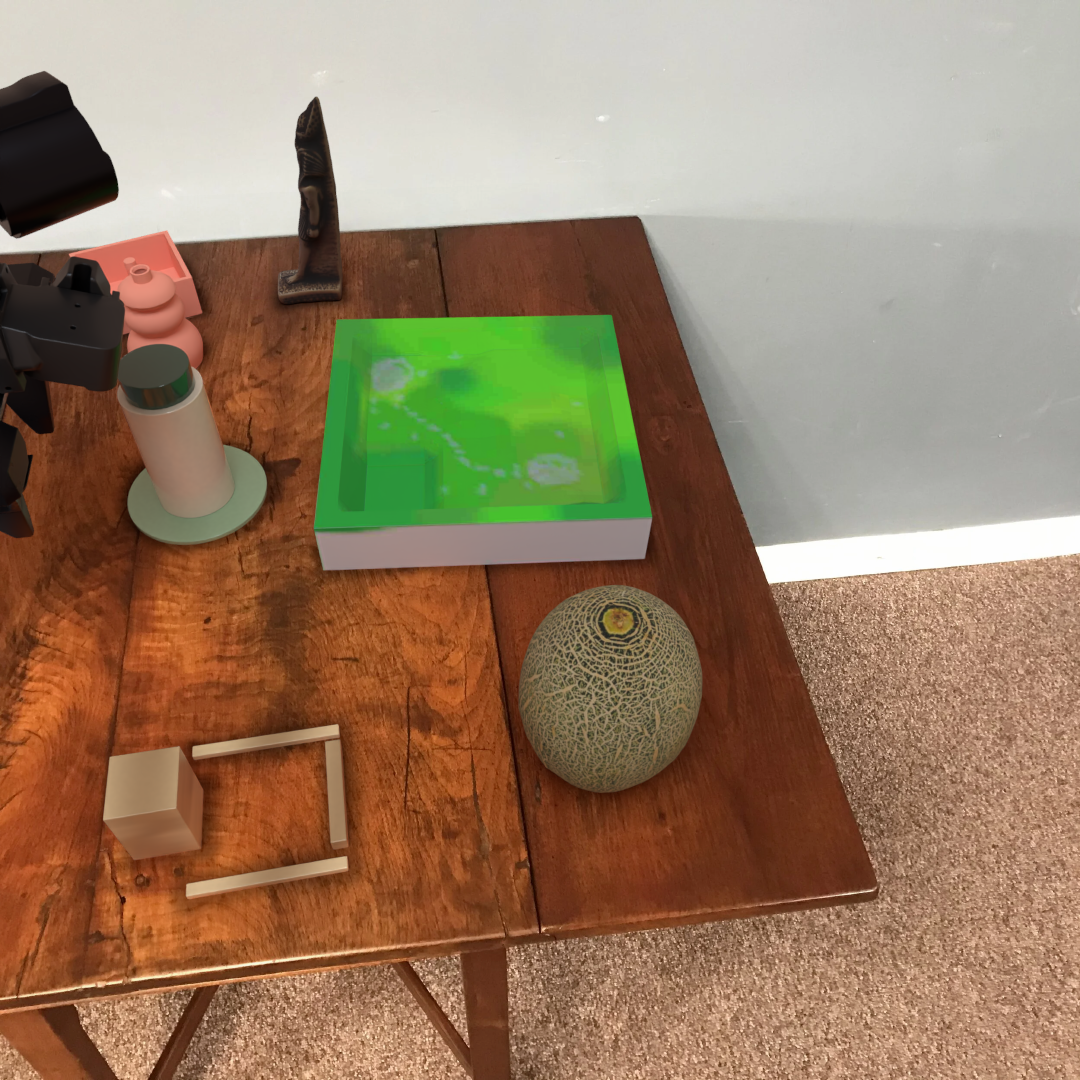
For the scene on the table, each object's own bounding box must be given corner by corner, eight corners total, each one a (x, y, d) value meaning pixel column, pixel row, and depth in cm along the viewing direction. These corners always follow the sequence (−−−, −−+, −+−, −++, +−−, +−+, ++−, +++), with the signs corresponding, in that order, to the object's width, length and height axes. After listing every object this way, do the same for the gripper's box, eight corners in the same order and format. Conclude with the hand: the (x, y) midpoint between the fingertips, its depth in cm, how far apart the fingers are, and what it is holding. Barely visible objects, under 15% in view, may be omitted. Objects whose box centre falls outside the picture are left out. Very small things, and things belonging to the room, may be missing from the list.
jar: (44, 476, 68) (138, 365, 63) (55, 421, 72) (145, 311, 67) (204, 542, 77) (300, 448, 71) (207, 489, 81) (298, 397, 75)
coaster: (143, 563, 72) (141, 559, 72) (117, 470, 78) (115, 466, 78) (284, 519, 75) (283, 515, 75) (248, 433, 82) (247, 429, 81)
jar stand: (130, 910, 55) (96, 872, 51) (142, 758, 62) (114, 712, 57) (350, 871, 57) (337, 831, 53) (341, 727, 64) (328, 680, 59)
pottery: (83, 290, 94) (47, 200, 87) (178, 266, 97) (151, 177, 90) (126, 396, 84) (89, 305, 77) (229, 366, 87) (204, 275, 80)
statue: (279, 283, 96) (238, 85, 81) (349, 278, 97) (322, 82, 82) (279, 308, 93) (237, 108, 78) (351, 302, 94) (323, 104, 79)
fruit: (531, 662, 67) (538, 525, 56) (687, 685, 67) (726, 552, 55) (503, 810, 60) (504, 688, 49) (677, 839, 59) (720, 721, 48)
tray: (606, 358, 90) (611, 314, 86) (644, 559, 74) (652, 517, 70) (343, 363, 88) (336, 319, 84) (323, 571, 72) (313, 528, 68)
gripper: (64, 370, 43) (158, 578, 55) (105, 166, 55) (175, 374, 67) (-202, 395, 41) (-45, 604, 53) (-101, 179, 53) (9, 390, 65)
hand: (36, 481), depth 60 cm, fingers open, 9 cm apart
